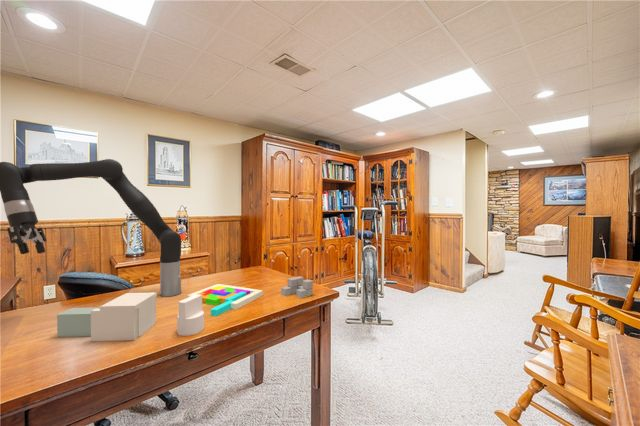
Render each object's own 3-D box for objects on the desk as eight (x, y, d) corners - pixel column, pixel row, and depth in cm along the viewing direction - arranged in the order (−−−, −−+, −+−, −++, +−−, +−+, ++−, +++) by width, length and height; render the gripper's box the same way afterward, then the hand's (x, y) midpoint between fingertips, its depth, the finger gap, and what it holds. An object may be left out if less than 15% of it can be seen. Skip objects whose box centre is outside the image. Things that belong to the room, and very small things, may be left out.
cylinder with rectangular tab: (190, 323, 105) (190, 293, 105) (209, 326, 103) (209, 295, 103) (171, 333, 97) (171, 301, 96) (191, 337, 94) (191, 303, 94)
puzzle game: (218, 288, 150) (170, 307, 123) (218, 283, 150) (170, 301, 123) (262, 296, 139) (221, 318, 111) (262, 290, 139) (221, 311, 111)
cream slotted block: (91, 341, 91) (90, 306, 90) (118, 323, 105) (118, 293, 104) (135, 340, 92) (135, 305, 92) (157, 322, 106) (156, 292, 106)
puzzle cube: (281, 294, 140) (281, 279, 140) (299, 290, 148) (299, 276, 148) (294, 300, 131) (294, 285, 131) (312, 295, 139) (313, 280, 139)
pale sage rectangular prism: (57, 337, 94) (57, 314, 93) (71, 329, 100) (71, 308, 99) (93, 335, 95) (93, 313, 94) (105, 328, 101) (105, 307, 100)
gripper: (18, 208, 97) (32, 250, 97) (45, 212, 111) (57, 249, 111) (-8, 214, 95) (6, 257, 95) (23, 218, 109) (35, 255, 108)
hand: (33, 253), depth 103 cm, fingers open, 8 cm apart
